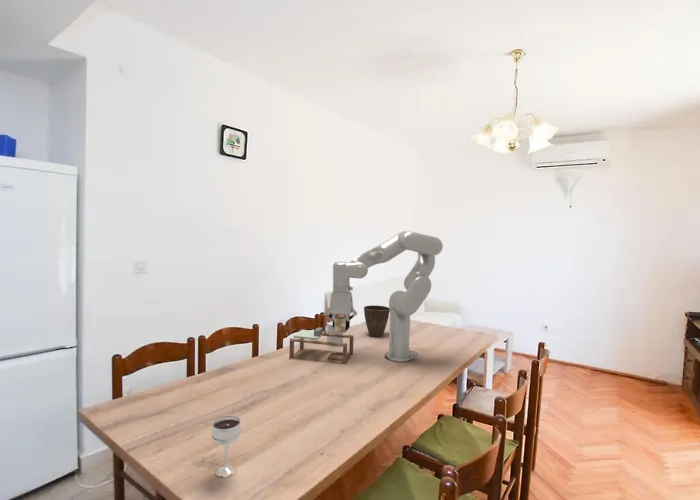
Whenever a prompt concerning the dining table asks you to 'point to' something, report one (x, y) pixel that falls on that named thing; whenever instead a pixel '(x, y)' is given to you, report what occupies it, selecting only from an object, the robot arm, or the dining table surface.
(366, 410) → the dining table surface
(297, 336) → the lid
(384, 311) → the plant pot
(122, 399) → the dining table surface
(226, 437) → the wineglass
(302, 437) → the dining table surface
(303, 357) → the wooden table frame
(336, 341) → the cup
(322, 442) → the dining table surface
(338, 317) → the maple block
